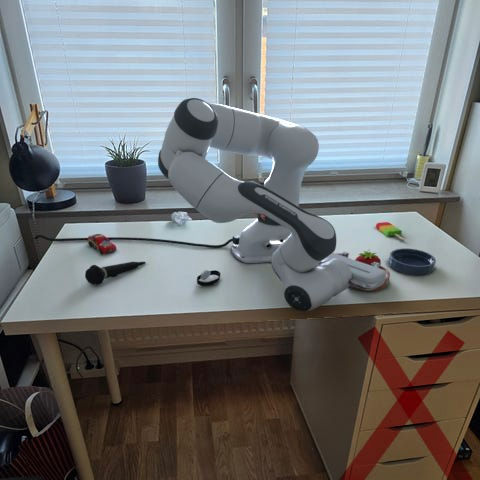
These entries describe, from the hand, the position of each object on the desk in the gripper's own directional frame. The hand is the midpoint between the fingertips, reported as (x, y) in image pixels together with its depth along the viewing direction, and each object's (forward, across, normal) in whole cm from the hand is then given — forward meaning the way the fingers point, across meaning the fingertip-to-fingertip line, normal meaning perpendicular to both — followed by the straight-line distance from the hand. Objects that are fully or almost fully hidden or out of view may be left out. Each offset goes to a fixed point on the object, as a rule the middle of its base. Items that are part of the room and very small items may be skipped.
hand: (361, 259), depth 121 cm
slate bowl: (+23, -6, +8) cm, 25 cm away
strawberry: (+4, 0, +8) cm, 9 cm away
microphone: (-43, +54, +8) cm, 69 cm away
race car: (-36, +74, +8) cm, 83 cm away
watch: (-28, +32, +8) cm, 43 cm away
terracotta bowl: (+4, 0, +8) cm, 9 cm away
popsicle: (+43, +11, +8) cm, 45 cm away
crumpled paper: (-2, +74, +8) cm, 75 cm away
